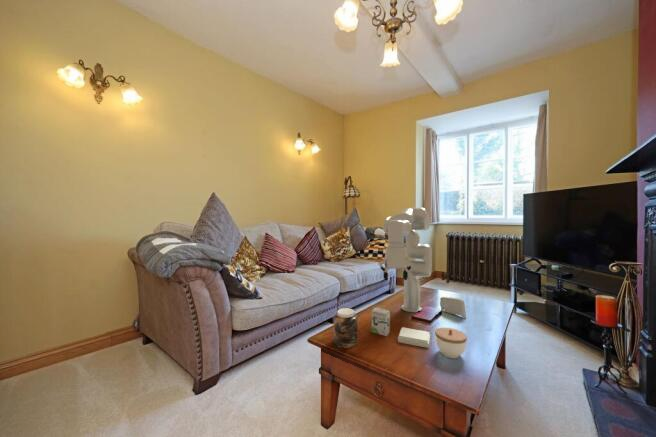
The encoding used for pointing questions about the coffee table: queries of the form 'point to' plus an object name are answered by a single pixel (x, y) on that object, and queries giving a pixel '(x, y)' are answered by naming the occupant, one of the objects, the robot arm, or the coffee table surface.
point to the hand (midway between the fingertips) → (395, 279)
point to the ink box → (380, 321)
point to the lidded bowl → (450, 342)
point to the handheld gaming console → (453, 306)
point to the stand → (414, 337)
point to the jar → (345, 328)
